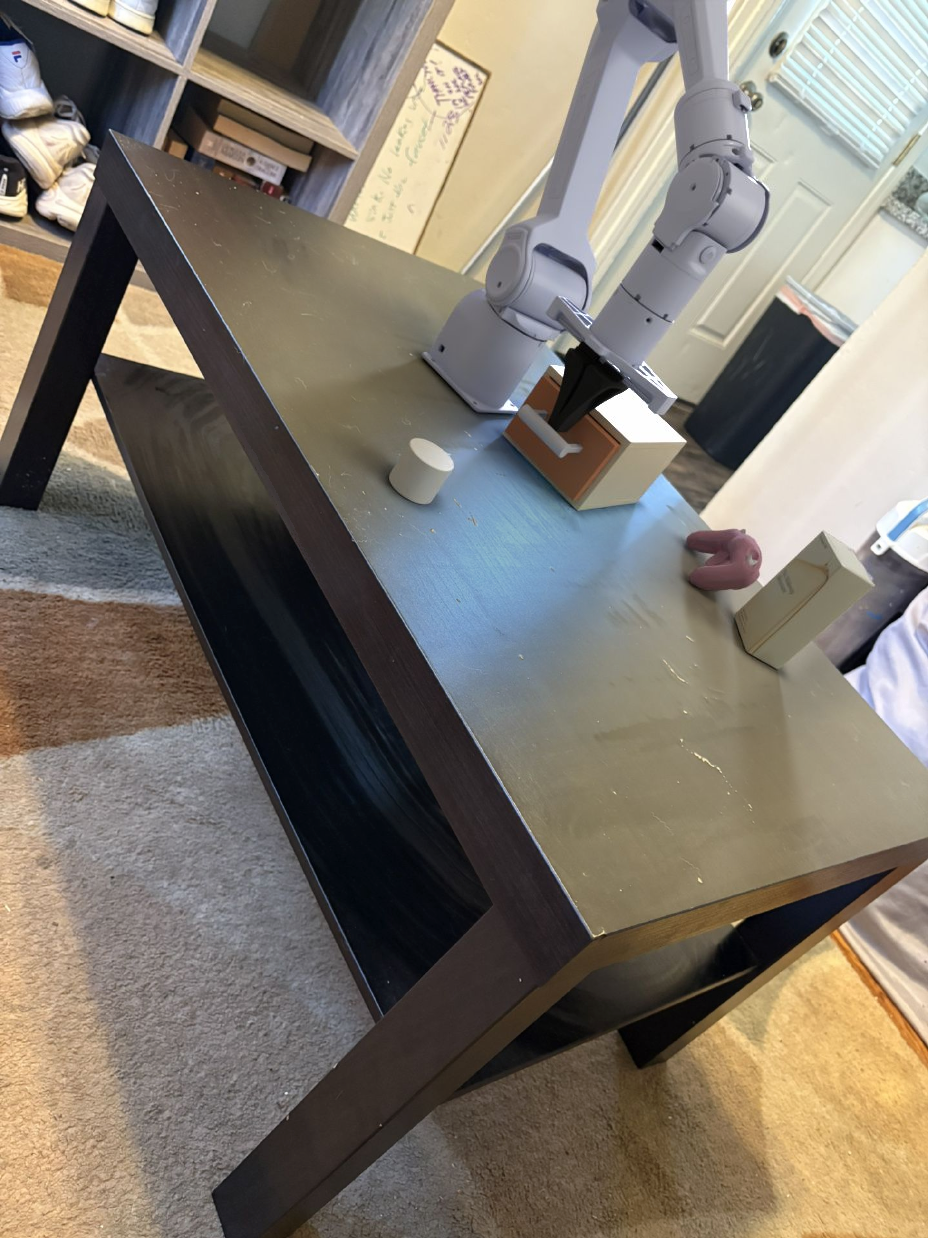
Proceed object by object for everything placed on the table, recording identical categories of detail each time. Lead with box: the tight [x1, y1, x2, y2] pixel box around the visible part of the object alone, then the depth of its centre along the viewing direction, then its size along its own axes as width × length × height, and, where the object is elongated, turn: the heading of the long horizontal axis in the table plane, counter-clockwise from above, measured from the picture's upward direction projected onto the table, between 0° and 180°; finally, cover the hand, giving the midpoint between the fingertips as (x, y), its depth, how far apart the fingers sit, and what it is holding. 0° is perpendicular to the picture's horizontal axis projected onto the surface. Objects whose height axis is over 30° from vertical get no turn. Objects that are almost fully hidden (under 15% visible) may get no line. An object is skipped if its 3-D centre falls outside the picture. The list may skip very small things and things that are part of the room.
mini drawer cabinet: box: [502, 364, 688, 512], centre depth 91 cm, size 14×12×9 cm
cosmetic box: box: [733, 530, 876, 670], centre depth 83 cm, size 6×4×12 cm
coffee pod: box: [388, 437, 455, 505], centre depth 69 cm, size 4×4×4 cm
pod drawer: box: [504, 375, 621, 500], centre depth 88 cm, size 17×10×7 cm, turn 137°
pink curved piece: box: [685, 528, 763, 592], centre depth 91 cm, size 10×5×7 cm, turn 168°
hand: (556, 427), depth 82 cm, fingers closed
